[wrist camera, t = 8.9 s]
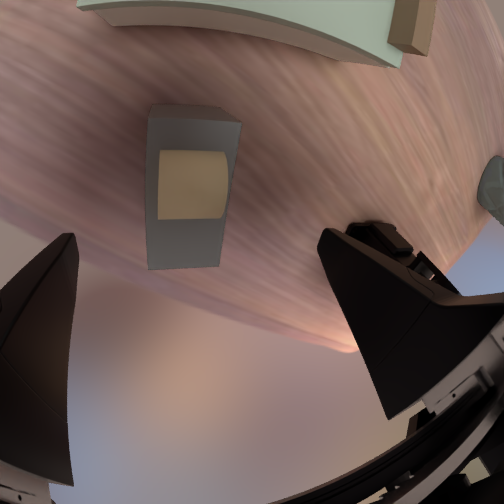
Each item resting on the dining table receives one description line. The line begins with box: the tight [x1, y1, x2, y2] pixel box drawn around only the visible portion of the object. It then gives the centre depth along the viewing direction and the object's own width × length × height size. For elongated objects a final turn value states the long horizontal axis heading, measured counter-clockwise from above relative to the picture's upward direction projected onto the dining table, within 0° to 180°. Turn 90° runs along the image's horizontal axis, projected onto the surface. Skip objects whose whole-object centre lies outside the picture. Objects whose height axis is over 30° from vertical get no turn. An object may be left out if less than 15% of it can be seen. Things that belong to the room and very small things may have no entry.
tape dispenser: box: [145, 104, 242, 270], centre depth 14 cm, size 8×4×7 cm, turn 169°
